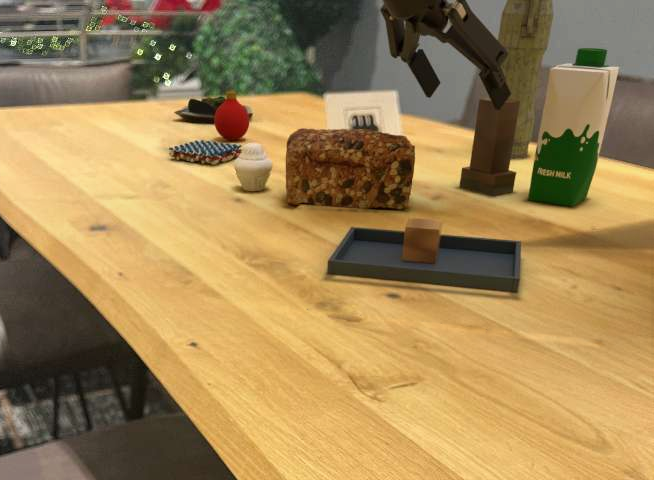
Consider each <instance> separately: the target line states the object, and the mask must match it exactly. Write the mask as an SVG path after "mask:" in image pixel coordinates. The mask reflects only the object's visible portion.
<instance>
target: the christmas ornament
mask: <svg viewBox="0 0 654 480" xmlns="http://www.w3.org/2000/svg"><path fill="white" fill-rule="evenodd" d="M230 86H232V87H233V91H229V90H228V89H229V87H230ZM225 96H226V97H225V99H226V100H225V102H224V103H223V104H222V105H220V106H219V108H218V109H217V111H216V113H215V117H214V124H213V125H214V127H215V130H216V132H217V133H218V135H219V136H220V137H221V138H222V139H224V140H225V139H226V140H227V141H237V140H240V139H241V138H243V137H244V136H245V135H246V134H247V132H248V130H249V128H250V119H249V115H248V112H247V110H246V109H245V108H244V106H242V105H243V104H241V103H240V102H239V101H238V99H237V92H236V88H235V86H234V85H233V84H229V85H228V86H227V87H226V92H225Z"/></svg>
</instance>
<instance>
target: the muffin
mask: <svg viewBox="0 0 654 480" xmlns="http://www.w3.org/2000/svg"><path fill="white" fill-rule="evenodd" d="M241 149H242V151H241V152H242V153H241V154H240V155H239V157H238V158H237V157H236V159H235V160H234V162H233V169H234V171H235V175H236V177H237V180H238V181H239V183H240V185H241V187H242V189H243V190H244V191H247V192H259V191H263V190H264V188H265V187H266V184H267V183H268V181H269V178H270V176H271V172H272V171H273V170H272V169H273V162H272V160H271V159H270V158H269V157H268V155H267V153H266V152H265V148H264V146H263V145H262V144H261V143H258V142H254V141H252V142H247V143H245V144H244V145H242V147H241Z"/></svg>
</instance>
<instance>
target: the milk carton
mask: <svg viewBox="0 0 654 480" xmlns="http://www.w3.org/2000/svg"><path fill="white" fill-rule="evenodd" d="M607 53H608V49H606V48H593V47H583V48H581V47H580V48H577V51H576V57H575V61H574V63H564V64H563V63H562V64H557V65H555V67H551V68H549V75H548V81H547V82H548V83H547V89H546V96H545V99H544V100H545V101H544V105H543V110H542V116H541V121H540V126H539V132H538V137H537V142H536V148H535V154H534V159H533V166H532V172H531V177H530V184H529V190H528V197H527V201H534V202H540V203H546V204H553V205H559V206H566V207H572V208H573V207H574V206H576V205H578V204H579V203H581V202H582V201H584V200H585V199H586V198H587V197H588V193H589V191H590V187H591V184H592V181H593V179H594V175H595V172H596V169H597V165H598V161H599V158H600V157H599V156H600V153H601V148H602V144H603V140H604V136H605V132H606V127H607V122H608V118H609V115H610V110H611V106H612V101H613V96H614V91H615V87H616V82H617V78H618V73H619V70H620V67H619V66H611V65H608V64H605V63H606V59H607Z"/></svg>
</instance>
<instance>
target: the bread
mask: <svg viewBox="0 0 654 480" xmlns="http://www.w3.org/2000/svg"><path fill="white" fill-rule="evenodd" d="M285 150H286V151H285V190H286V200H287V201H286V203H287V205H294V206H299V205H300V204H309V205H311V206H318V207H319V206H321V207H331V208H345V209H359V210H368V209H374V208H377V209H378V208H383V209H397V210H401V209H405V208H408V206H409V202H410V196H412V194H411V193H412V189H413V188H412V187H413V178H414V173H415V164H416V151H415V150H416V145H413V144H412V142H411V141H410V140H409V139H408V138H407V136H406V135H400V134H399V135H397V134H390V133H389V132H381V131H375V130H372V129H363V128H359V129H357V128H340V129H339V128H338V129H335V128H334V129H325V128H321V129H320V128H319V129H315V128H303V127H301V128H298V129H297V130H296V131H293V132H292V133H291V134H289V136H288V138H287V141H286V149H285Z"/></svg>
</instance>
